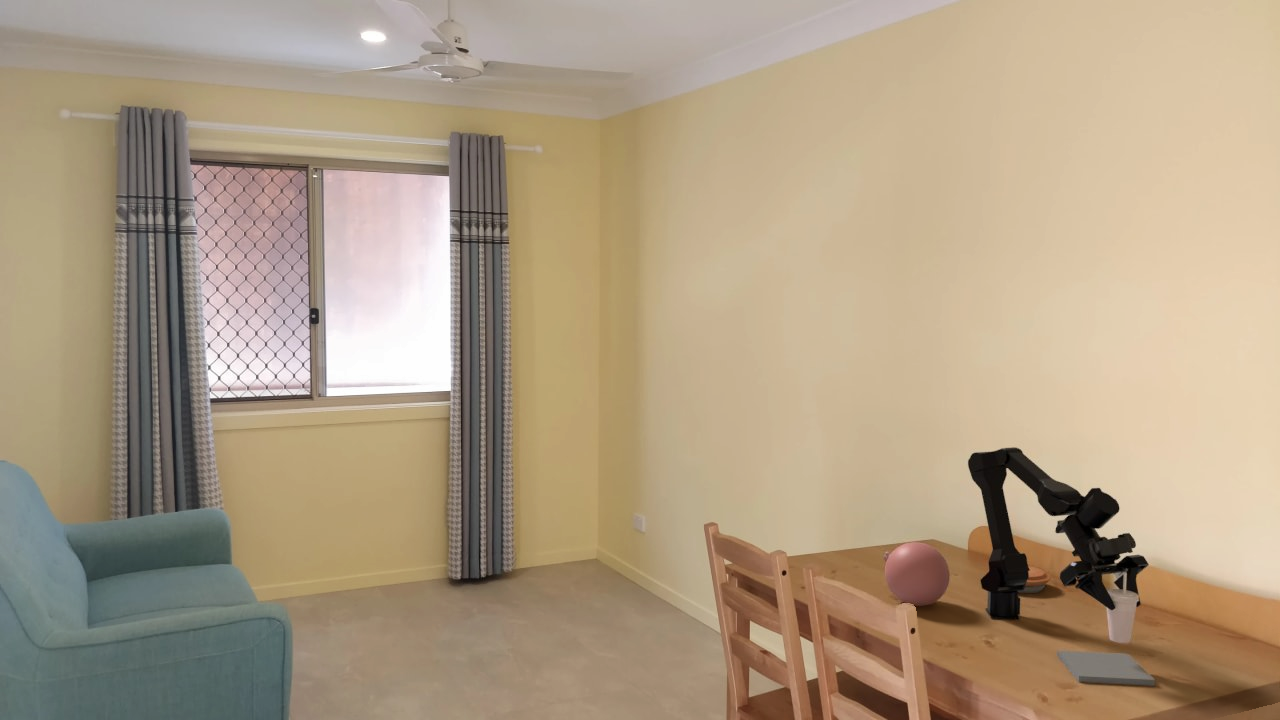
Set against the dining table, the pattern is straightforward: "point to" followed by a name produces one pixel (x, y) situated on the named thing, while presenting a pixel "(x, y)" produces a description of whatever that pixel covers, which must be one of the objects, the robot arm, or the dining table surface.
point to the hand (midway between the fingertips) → (1126, 607)
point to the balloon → (916, 573)
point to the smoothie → (1122, 613)
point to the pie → (1035, 580)
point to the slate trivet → (1105, 668)
